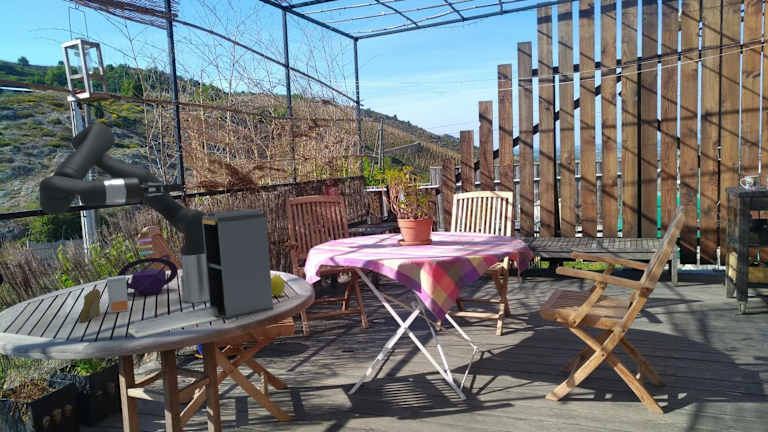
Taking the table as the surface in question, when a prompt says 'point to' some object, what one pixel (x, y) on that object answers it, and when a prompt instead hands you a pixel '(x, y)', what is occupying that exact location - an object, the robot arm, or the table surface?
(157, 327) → the panel
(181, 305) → the table surface
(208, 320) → the mat
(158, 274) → the purple handbag
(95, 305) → the rock
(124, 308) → the skincare box
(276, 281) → the lemon
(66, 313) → the table surface
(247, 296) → the rack
